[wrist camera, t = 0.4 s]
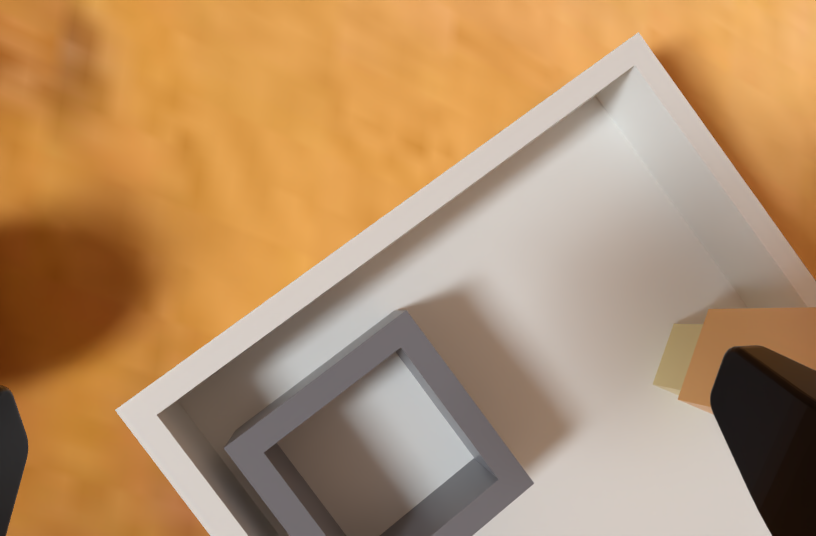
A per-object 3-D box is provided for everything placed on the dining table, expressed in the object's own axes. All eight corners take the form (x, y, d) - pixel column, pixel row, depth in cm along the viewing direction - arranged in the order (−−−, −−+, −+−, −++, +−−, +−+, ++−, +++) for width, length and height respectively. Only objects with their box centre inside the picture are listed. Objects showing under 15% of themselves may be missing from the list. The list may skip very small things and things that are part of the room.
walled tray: (935, 561, 26) (1046, 605, 22) (561, 937, 23) (613, 1066, 19) (587, 76, 25) (638, 32, 21) (149, 393, 22) (115, 409, 18)
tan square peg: (715, 422, 24) (1105, 525, 12) (639, 390, 24) (967, 465, 12) (742, 342, 24) (1146, 366, 13) (667, 309, 24) (1012, 303, 12)
